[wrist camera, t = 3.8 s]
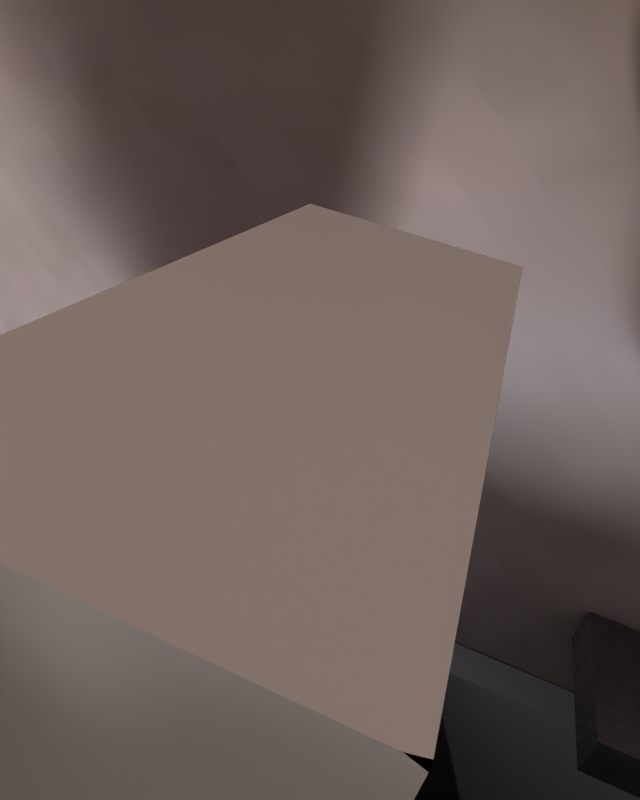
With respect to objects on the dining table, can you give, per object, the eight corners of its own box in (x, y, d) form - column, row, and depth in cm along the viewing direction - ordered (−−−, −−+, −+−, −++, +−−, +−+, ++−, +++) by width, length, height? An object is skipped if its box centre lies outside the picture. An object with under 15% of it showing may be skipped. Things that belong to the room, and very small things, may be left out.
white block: (245, 185, 9) (-422, 366, 3) (522, 266, 8) (433, 766, 2) (180, 640, 14) (-109, 1059, 8) (347, 718, 13) (171, 1249, 7)
